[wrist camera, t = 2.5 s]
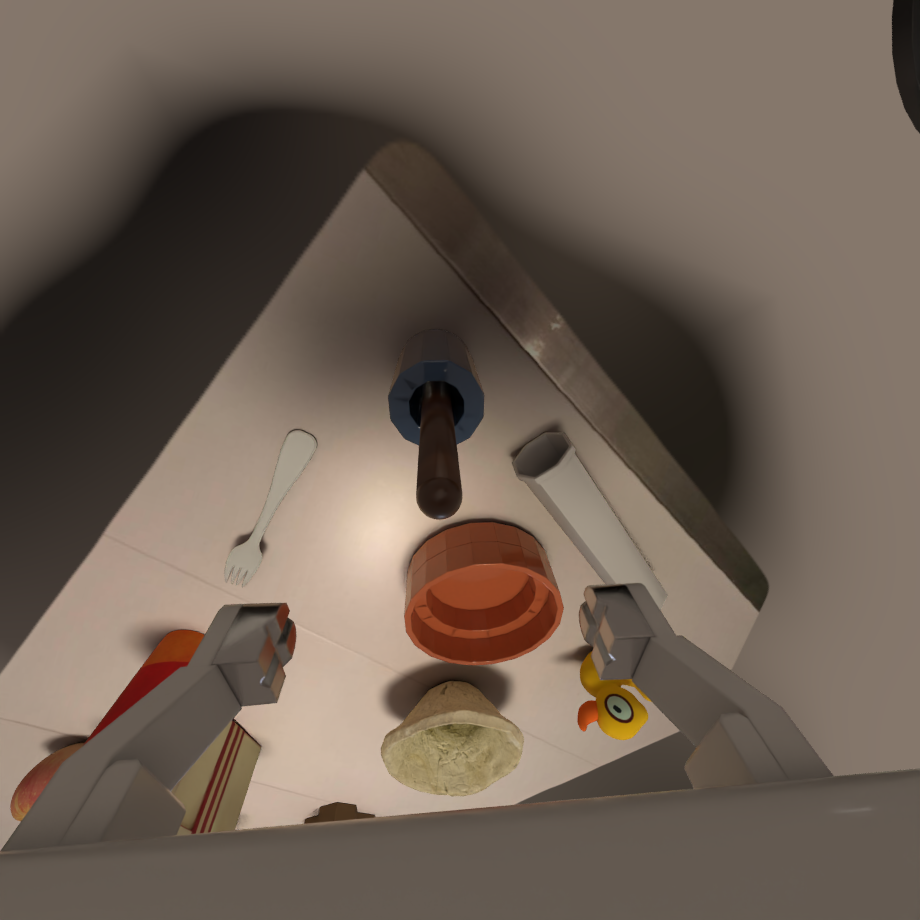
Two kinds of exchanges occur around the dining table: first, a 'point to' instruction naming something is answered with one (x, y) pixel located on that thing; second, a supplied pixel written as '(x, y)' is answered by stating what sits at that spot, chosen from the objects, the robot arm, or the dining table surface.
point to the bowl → (452, 743)
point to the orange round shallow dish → (481, 595)
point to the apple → (38, 781)
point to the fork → (272, 503)
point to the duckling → (610, 704)
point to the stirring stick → (438, 454)
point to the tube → (583, 512)
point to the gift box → (218, 783)
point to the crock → (435, 361)
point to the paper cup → (154, 672)
